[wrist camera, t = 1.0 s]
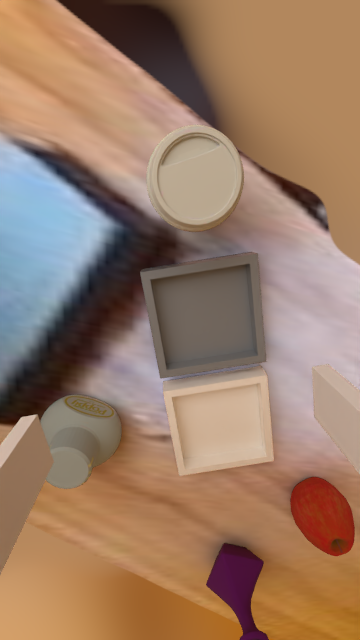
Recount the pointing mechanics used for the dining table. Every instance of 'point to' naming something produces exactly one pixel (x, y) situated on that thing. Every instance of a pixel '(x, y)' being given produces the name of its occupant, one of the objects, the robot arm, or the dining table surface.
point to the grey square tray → (205, 314)
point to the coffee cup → (195, 178)
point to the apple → (323, 516)
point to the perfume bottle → (237, 585)
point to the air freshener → (79, 438)
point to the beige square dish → (219, 420)
